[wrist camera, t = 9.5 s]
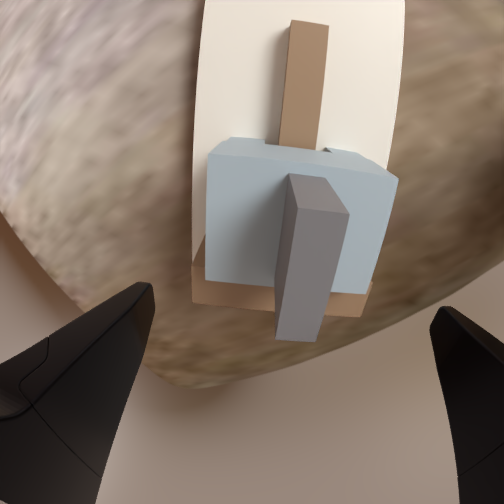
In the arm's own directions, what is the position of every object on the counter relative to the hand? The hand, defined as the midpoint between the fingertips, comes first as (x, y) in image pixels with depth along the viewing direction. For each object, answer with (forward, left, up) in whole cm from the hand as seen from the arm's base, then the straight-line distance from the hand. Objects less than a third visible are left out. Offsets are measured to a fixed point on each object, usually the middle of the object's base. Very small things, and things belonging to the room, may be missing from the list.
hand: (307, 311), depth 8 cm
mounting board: (0, -6, -13) cm, 14 cm away
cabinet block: (0, 0, -11) cm, 11 cm away
